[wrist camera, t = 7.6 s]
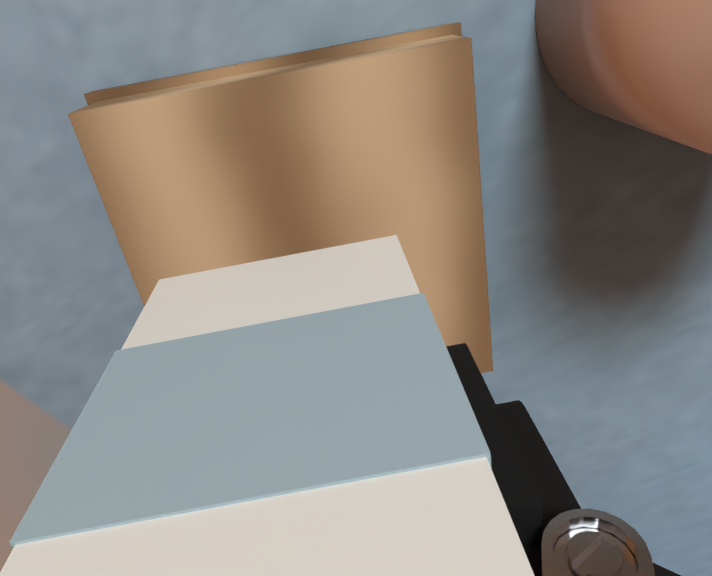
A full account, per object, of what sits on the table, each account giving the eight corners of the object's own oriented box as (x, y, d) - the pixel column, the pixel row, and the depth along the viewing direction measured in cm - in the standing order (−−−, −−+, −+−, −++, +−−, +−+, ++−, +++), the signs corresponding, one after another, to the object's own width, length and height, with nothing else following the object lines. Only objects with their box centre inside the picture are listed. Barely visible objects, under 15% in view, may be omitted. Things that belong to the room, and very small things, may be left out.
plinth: (456, 22, 19) (480, 24, 16) (480, 335, 24) (500, 375, 22) (90, 91, 19) (53, 105, 16) (199, 386, 24) (186, 432, 22)
